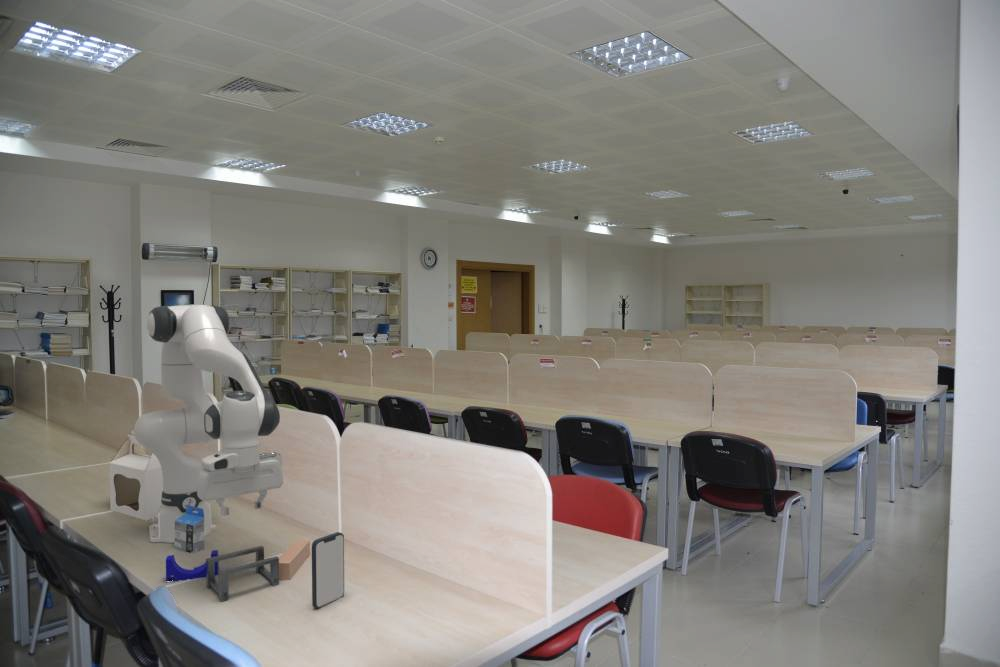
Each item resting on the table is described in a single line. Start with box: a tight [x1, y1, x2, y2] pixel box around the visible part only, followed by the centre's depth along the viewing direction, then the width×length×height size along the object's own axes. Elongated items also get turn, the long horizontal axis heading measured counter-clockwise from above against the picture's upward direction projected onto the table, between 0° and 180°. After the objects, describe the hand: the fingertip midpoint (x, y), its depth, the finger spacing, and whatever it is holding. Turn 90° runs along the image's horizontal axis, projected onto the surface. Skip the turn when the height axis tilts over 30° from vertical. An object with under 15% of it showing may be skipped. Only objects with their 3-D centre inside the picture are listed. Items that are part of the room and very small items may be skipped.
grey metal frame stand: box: [205, 545, 280, 603], centre depth 161 cm, size 12×14×7 cm
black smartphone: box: [311, 531, 345, 609], centre depth 152 cm, size 9×2×16 cm, turn 144°
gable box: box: [108, 429, 163, 521], centre depth 220 cm, size 22×13×28 cm, turn 59°
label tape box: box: [173, 505, 205, 554], centre depth 186 cm, size 9×4×12 cm, turn 60°
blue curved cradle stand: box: [165, 549, 220, 582], centre depth 168 cm, size 12×4×6 cm, turn 110°
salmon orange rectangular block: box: [278, 540, 311, 581], centre depth 172 cm, size 16×4×5 cm, turn 178°
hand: (242, 511), depth 161 cm, fingers open, 7 cm apart
